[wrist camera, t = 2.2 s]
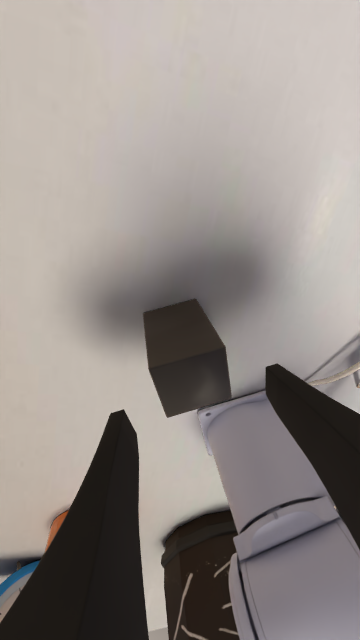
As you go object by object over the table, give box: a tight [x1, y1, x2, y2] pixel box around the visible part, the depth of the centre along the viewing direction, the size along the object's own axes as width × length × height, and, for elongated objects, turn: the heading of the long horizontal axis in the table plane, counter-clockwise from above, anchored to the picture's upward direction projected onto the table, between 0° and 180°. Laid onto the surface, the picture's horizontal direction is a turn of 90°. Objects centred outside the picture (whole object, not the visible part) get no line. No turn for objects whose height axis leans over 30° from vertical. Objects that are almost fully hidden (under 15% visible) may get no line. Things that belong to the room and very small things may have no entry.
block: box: [143, 299, 232, 418], centre depth 15 cm, size 4×4×6 cm
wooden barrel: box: [161, 510, 240, 640], centre depth 32 cm, size 18×18×16 cm
